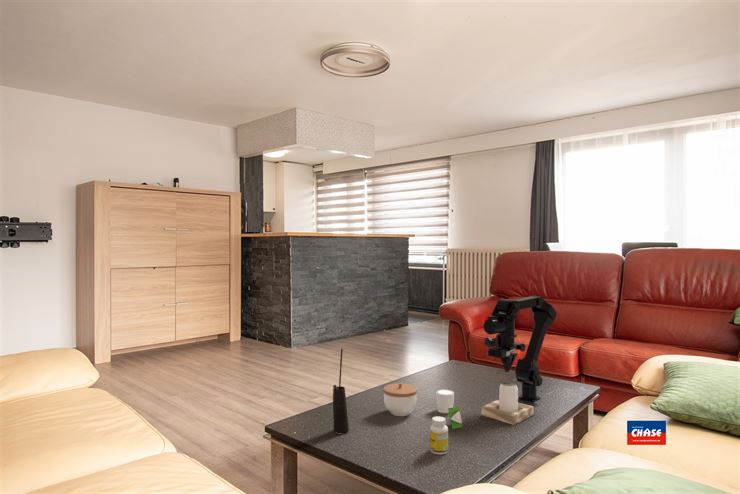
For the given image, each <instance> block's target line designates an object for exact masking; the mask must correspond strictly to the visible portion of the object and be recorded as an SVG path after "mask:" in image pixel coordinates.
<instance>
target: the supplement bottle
mask: <svg viewBox="0 0 740 494" xmlns="http://www.w3.org/2000/svg"><path fill="white" fill-rule="evenodd" d="M431 422H432V424H431V425H430V427H429V450H430V452H431V453H432V454H435V455H445V454H447V453H448V452H449V427H448V426H447V425H446V424H447V423H446V422H447V418H446V417H445V416H433V417H432V418H431Z"/></svg>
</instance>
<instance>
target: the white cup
mask: <svg viewBox="0 0 740 494" xmlns="http://www.w3.org/2000/svg"><path fill="white" fill-rule="evenodd" d="M435 395H436V396H435V397H436V405H437V406H436V407H437V412H439V413H440V414H449V410H448V408H453V407H454V403H455V402H454V401H455V391H453V390H450V389H438V390H436V391H435Z"/></svg>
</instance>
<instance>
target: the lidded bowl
mask: <svg viewBox="0 0 740 494" xmlns="http://www.w3.org/2000/svg"><path fill="white" fill-rule="evenodd" d="M382 391H383V401H384V406H385V407H386V409H387V410H388V411H389V412H390V414H391V415H392V414H393V415H392V416H395V417H406V416H409V415H410V414H411V412H413V410H414V409H415V408H416V404H417V398H418V388H417V386H415V385H413V384H409V383H402V382H398V383H391V384H390V383H389V384H387V385H385V386H384V387H383V389H382Z"/></svg>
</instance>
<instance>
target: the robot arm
mask: <svg viewBox="0 0 740 494" xmlns="http://www.w3.org/2000/svg"><path fill="white" fill-rule="evenodd" d="M526 309H530V312H532V314H533V315H532V319H533V321H534V325H533V329H532V333H531V336H530V338H529V339H530V340H529V342H528V345H527V347H526V344H524V343H522V342H516V341H515V339H516V338H517V337H518V334H516V333H515V326H516V325H515V321H516V320H518V319H519V317H518V316H517V315H516V314H518V313H520V311H521V310H526ZM556 317H557V311H556V310H555V308H554V307H553V306H552V304H550V303H549V302H547V301H546V300H545V299H544V298H543V297H542V296H539V295H537V296H536V295H530V296H526V297H520V298H516V299H508V298H507V299H506V298H500V299H498V300H497V302H496V304H495V307H494V308H493V310H492V313H491V315H488V316H487V319H485V321H484V323H483V330H484V332H485V333H486V334H487V335H490V336H488V337H485V338H484V340H483V341H484V342H483V344H484V345H485V346H486V347H487V352H486V353H487V356H488V357H493V358H498V359H500V361H501V364H502V365H503V366H502V367H503V369H504V372H505V373H509V371H510V369H511V368H512V366H513V364H514V362H515V360H516V358H517V356H519V353H516V350H519V351H520V352H522V353H523V352H525V355H524V357H522V358H518V359H517V362H516V366H515V367H514V368H515V370H514V373H515V377H516V381H517V382H518V383H521V395H518V399H520V400H525V401H529V402H532V403H533V402H536V401H537V400H539V399H541V396H538V387H541V386H542V385H543V382H544V379H543V378H542V376H541V375H540V374H539V371H540V368H539V364H538V359H539V356H540V353H541V349H542V346H543V342H544V340H545V337H546V334H547V333H546V332H547V330H548V329H549V327H551V326H552V325H553V324H554V322H555V320H556ZM491 335H496V337H494V338H491ZM526 348H527V349H526Z"/></svg>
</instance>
